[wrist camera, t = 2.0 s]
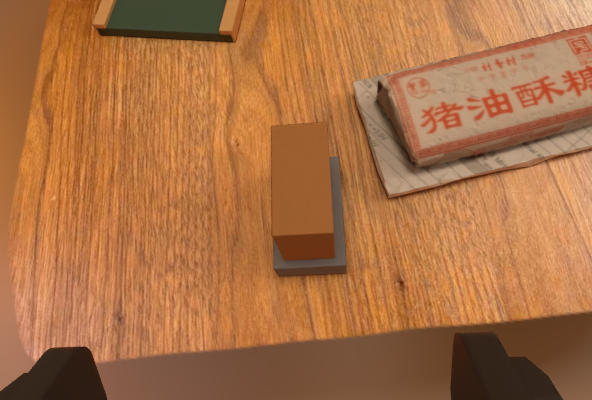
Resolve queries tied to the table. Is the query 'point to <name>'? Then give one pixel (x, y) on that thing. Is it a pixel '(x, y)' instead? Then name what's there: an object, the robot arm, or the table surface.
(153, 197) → the table surface
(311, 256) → the eraser
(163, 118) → the table surface
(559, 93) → the packaged product
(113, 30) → the chalkboard
